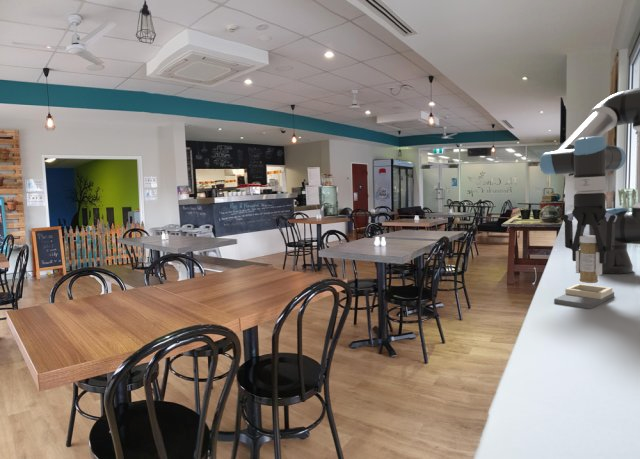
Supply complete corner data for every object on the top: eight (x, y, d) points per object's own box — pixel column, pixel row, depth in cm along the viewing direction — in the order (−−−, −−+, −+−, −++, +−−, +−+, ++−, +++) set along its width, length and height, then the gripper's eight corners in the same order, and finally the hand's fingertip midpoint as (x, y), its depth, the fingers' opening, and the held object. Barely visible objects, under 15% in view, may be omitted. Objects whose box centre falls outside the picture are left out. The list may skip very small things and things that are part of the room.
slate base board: (579, 291, 128) (579, 282, 128) (614, 296, 121) (614, 287, 121) (554, 303, 117) (554, 293, 117) (590, 309, 110) (590, 298, 110)
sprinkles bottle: (586, 279, 123) (587, 234, 122) (601, 282, 119) (602, 235, 118) (575, 281, 122) (575, 235, 121) (590, 284, 118) (590, 236, 117)
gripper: (551, 193, 123) (551, 272, 125) (621, 191, 109) (620, 279, 111) (561, 193, 128) (561, 268, 130) (630, 191, 114) (629, 275, 116)
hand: (588, 273), depth 120 cm, fingers closed on sprinkles bottle, 4 cm apart
